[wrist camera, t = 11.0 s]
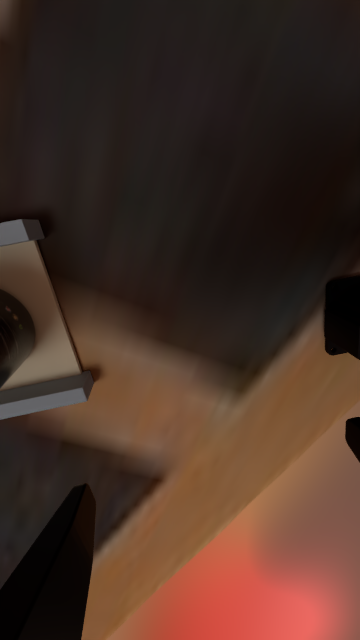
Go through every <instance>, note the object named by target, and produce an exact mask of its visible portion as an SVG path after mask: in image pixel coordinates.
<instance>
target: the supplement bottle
mask: <svg viewBox="0 0 360 640" xmlns="http://www.w3.org/2000/svg"><path fill="white" fill-rule="evenodd" d="M35 337H36V332H35V326H34V322H33V320H32V317H31V315H30V314H29V312H28V310H27V309H26V308H25V306H24V305H23V304H22V303H21V302H20V301H19V300H18V299H16V298H15V297H14V296H12V295H11V294H10V293H8V292H6V291H4V290H2V289H0V388H1V387H2V386H3V385H4V384H5V383H6V382H7V380H8V379H9V378H10V377H11V376H12V375H13V374H14V373H15V371H16V370H17V369H18V368H19V367H20V366H21V365H22V363H23V362H24V361H25V360H26V359H27V358H28V356H29V355H30V353H31V351H32V349H33V347H34V343H35Z"/></svg>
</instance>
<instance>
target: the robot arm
mask: <svg viewBox="0 0 360 640" xmlns="http://www.w3.org/2000/svg"><path fill="white" fill-rule="evenodd" d="M334 285H335V288H334V289H333V290H332V287H333V286H334ZM324 336H325V350H326V352H327V353H328V354H329V355H338V354H343V353H347V352H348V353H350V354H351V355H353V356H354V357H356V358H357V359H359V360H360V275H358V276H354V277H349V278H344V279H339V280H334V281H330V282H329V283H328V284H327V286H326V309H325V329H324ZM332 348H334V349H333V350H332V351H331V349H332ZM345 438H346V441H347V444H348V446H349V447H350V449H351V450H352V451H353V453H354V455H355V456H356V458H357V459H358V461H359V462H360V417H355V418H351V419H348V420H347V421H346V434H345ZM95 517H96V501H95V498H94V496H93V493H92V491H91V489H90V486H89V485H88V484H87V483H84V484H80V485H76V486H75V487H73V489H72V490H71V491H70V493H69V494H68V496H67V497H66V498H65V500H64V501H63V503H62V504H61V505H60V507H59V508H58V510H57V511H56V512H55V514H54V515H53V517H52V518H51V519H50V521H49V522H48V524H47V525H46V526H45V528H44V529H43V531H42V532H41V533H40V535H39V536H38V538H37V539H36V540H35V542H34V543H33V545H32V546H31V547H30V549H29V550H28V552H27V553H26V554H25V556H24V557H23V559H22V560H21V561H20V563H19V564H18V566H17V567H16V568H15V570H14V571H13V573H12V574H11V575H10V577H9V578H8V580H7V581H6V582H5V584H4V585H3V587H2V588H1V589H0V640H81V637H82V630H83V624H84V617H85V611H86V604H87V597H88V591H89V584H90V578H91V571H92V563H93V550H94V534H95Z"/></svg>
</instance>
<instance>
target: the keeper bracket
mask: <svg viewBox="0 0 360 640" xmlns="http://www.w3.org/2000/svg"><path fill="white" fill-rule="evenodd" d="M39 239H45V237H44V234H43V231H42V228H41V226H40V223H39V220H29V219H19V220H14V221H9V222H3V223H0V289H2V290H4V291H6V292H8V293H10V294H11V295H12V296H14V297H15V298H16V299H18V300H19V301H20V302H21V303H22V304H23V305H24V306H25V308H26V309H27V310H28V312H29V314H30V315H31V317H32V320H33V322H34V326H35V332H36V337H35V343H34V347H33V349H32V351H31V353H30V355H29V356H28V358H27V359H26V360H25V361H24V362H23V363H22V365H21V366H20V367H19V368H18V369H17V370H16V371H15V373H14V374H13V375H12V376H11V377H10V378H9V379H8V380H7V382H6V383H5V384H4V385H3V386H2V387H1V388H0V419H5V418H9V417H14V416H19V415H24V414H29V413H33V412H38V411H43V410H48V409H52V408H57V407H62V406H67V405H71V404H76V403H81V402H86V401H87V400H88V397H89V395H90V392H91V389H92V387H93V384H94V381H93V378H92V375H91V372H90V370H89V371H84V372H82V369H81V366H80V363H79V360H78V358H77V355H76V352H75V349H74V346H73V343H72V341H71V338H70V335H69V332H68V329H67V326H66V324H65V321H64V318H63V315H62V312H61V309H60V306H59V304H58V301H57V298H56V295H55V292H54V289H53V287H52V284H51V281H50V278H49V275H48V272H47V270H46V267H45V264H44V261H43V258H42V255H41V252H40V250H39V247H38V244H37V241H36V240H39Z"/></svg>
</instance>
